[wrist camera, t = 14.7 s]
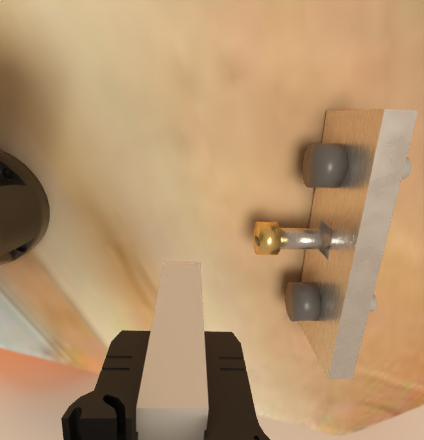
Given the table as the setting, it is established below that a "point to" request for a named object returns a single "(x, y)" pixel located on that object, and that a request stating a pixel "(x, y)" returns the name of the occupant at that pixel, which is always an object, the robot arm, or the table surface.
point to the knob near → (330, 165)
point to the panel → (354, 229)
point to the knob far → (307, 301)
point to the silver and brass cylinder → (288, 238)
